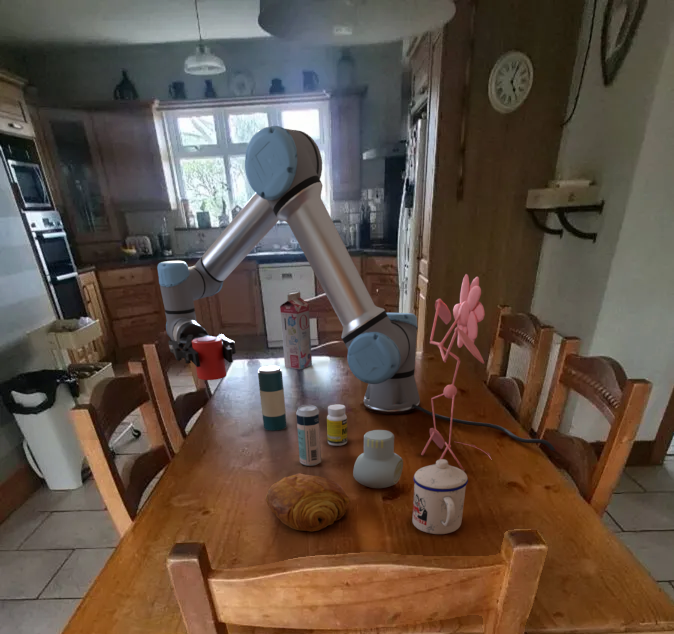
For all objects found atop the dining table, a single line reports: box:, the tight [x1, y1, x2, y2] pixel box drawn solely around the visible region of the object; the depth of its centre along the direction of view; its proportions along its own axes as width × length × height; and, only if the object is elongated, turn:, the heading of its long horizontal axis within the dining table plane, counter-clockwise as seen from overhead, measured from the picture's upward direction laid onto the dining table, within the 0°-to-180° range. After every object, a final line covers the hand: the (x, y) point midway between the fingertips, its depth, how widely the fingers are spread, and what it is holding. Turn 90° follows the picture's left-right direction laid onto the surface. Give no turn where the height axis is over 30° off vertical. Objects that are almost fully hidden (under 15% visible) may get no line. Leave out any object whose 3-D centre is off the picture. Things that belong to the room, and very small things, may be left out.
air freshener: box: [352, 429, 404, 489], centre depth 108 cm, size 11×8×10 cm
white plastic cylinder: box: [295, 404, 322, 467], centre depth 117 cm, size 5×5×12 cm
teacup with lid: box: [411, 458, 469, 535], centre depth 93 cm, size 12×9×12 cm
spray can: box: [257, 365, 288, 432], centre depth 135 cm, size 6×6×14 cm
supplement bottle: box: [326, 403, 348, 447], centre depth 127 cm, size 5×5×8 cm
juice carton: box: [279, 291, 313, 370], centre depth 181 cm, size 7×7×22 cm
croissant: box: [265, 472, 351, 532], centre depth 99 cm, size 14×16×8 cm
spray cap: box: [192, 336, 227, 381], centre depth 124 cm, size 7×7×8 cm
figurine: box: [420, 273, 492, 472], centre depth 109 cm, size 15×26×35 cm, turn 9°
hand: (214, 358), depth 120 cm, fingers closed on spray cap, 7 cm apart
